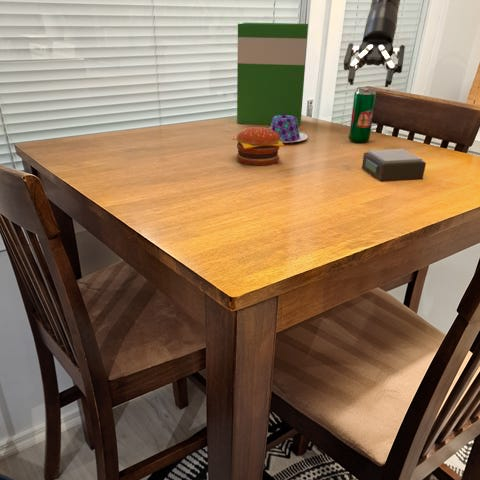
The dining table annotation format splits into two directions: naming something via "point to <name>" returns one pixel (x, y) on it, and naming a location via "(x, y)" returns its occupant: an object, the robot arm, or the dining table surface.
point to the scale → (393, 165)
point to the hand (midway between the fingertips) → (368, 83)
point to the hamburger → (258, 146)
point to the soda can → (362, 114)
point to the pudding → (287, 128)
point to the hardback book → (270, 71)
